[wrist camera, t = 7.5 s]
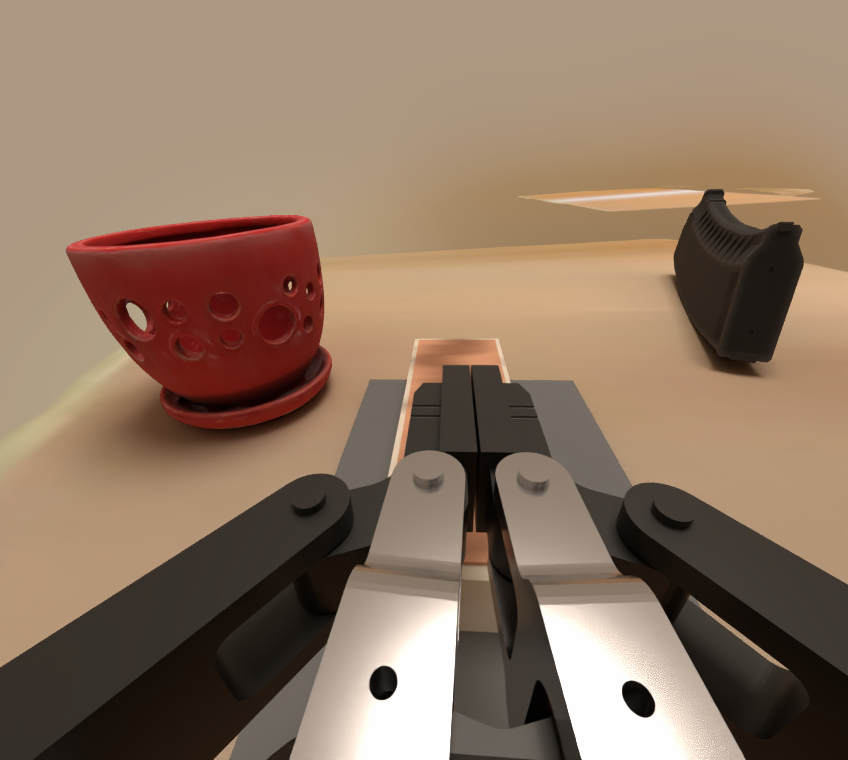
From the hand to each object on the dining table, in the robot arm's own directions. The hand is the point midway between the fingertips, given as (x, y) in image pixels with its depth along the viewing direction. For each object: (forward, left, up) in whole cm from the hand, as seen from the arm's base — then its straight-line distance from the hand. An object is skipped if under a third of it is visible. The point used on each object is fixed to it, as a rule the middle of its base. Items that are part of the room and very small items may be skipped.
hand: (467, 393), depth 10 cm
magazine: (-27, -32, -9) cm, 43 cm away
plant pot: (+16, -14, -9) cm, 23 cm away
